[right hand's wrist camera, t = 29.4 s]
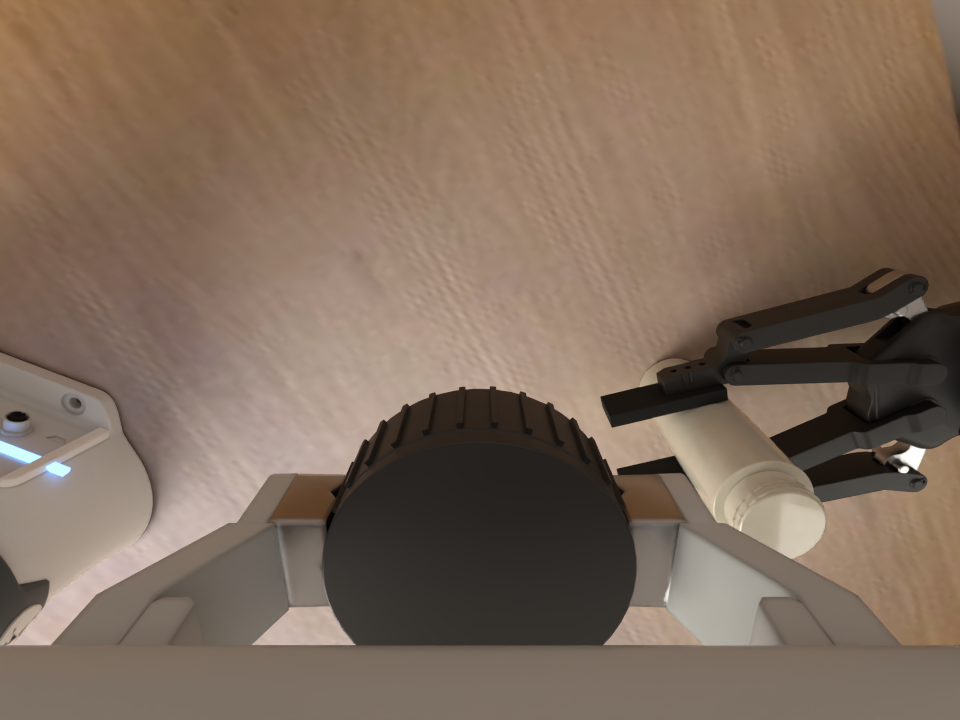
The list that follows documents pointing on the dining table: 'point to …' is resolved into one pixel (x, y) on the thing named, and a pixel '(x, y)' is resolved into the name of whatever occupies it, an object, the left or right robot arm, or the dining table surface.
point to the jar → (742, 474)
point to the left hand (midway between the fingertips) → (615, 449)
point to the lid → (479, 529)
